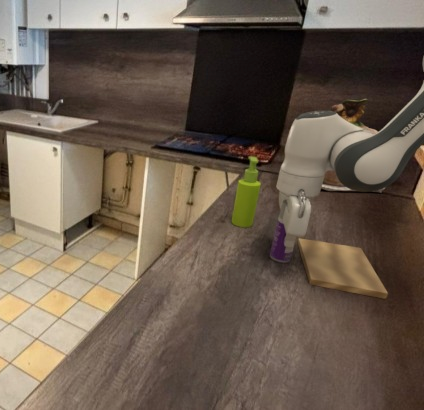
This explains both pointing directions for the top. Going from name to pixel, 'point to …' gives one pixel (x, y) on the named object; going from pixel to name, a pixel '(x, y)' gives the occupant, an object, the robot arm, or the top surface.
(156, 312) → the top surface
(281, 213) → the container
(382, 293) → the cutting board
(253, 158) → the soap dispenser
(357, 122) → the cookie jar
